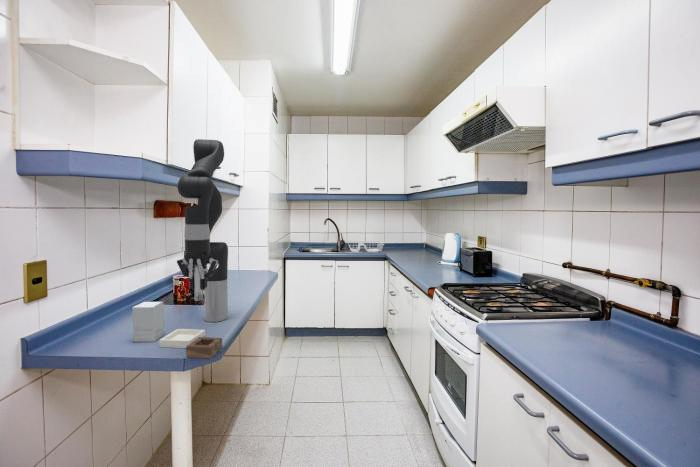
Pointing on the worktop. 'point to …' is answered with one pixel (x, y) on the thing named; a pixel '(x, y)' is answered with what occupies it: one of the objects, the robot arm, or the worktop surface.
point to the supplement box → (148, 321)
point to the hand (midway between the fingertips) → (198, 289)
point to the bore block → (204, 347)
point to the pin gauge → (197, 284)
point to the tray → (181, 338)
